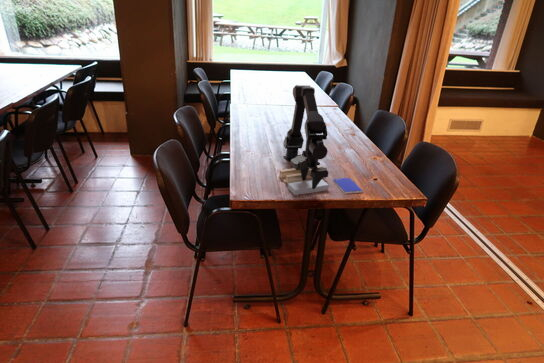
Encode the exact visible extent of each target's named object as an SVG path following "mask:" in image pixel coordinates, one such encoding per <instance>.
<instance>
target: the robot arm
mask: <svg viewBox="0 0 544 363" xmlns="http://www.w3.org/2000/svg"><path fill="white" fill-rule="evenodd" d="M315 92H316V90H315V87H312V86H311V85H308V84H305V85H304V84H299V85H298V84H296V85H294V87H293V88H292V95H293V100H294V102H295V105H294V109H293V110H294V111H293V117H292V123H291V128H290V129H289V130H288V131H287V133H286V136H285V138H284V140H283V147H284V149H285V150H286V151H285V152H286V153H285V155H283V158H284V159H285V160H286V161H287V162H290V163H291V166H292V169H293V168H295V169H296V170H300V172H301V176H302V180H305V179H306V176H307V173H308V170H309V168H311V169H312V170H311V175H310V176H311V177H312V189H315V188H316V186H317V185H318V184H319V182H320V181H321V180H322V179H323V178H324V177H326V178H328V177H329V171H328V170H326V169H325V168H323V166H320V165H321V163H320V162H319V160H322V159H324V158H326V157H327V155H328V148H327V146H326V145H325V144H324V141H325V140H327V138H328V137H327V136H328V135H329V134H328V128H327V125H326V122H325V120H324V116H323V115H322V114H320V113H319V110H318V106H317V100H316V95H315ZM305 113H306V120H305V123H304V132H305V138H306V139H305V140H306V141H305V140H304V137H303V133H302V126H303V120H304V117H305ZM323 140H324V141H323ZM304 141H305V149H304V150H302V152H301V153H302V154H299V149H303V145H304ZM317 166H318V167H317Z"/></svg>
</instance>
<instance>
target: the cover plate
mask: <svg viewBox="0 0 544 363" xmlns="http://www.w3.org/2000/svg"><path fill="white" fill-rule="evenodd" d="M329 187H330V185H329V184H328V183H327V182H326V181H325V180H321V181H320V182H319V184H318V185H317V186H316V188H315V189H312V180H308V181H301V182H294V183H288V185H287V190H289V191H290V193H292V194H293V196H298V195H299V194H300V195H305V193H306V194H310V193H311V194H312V193H318V192H323V191H329Z"/></svg>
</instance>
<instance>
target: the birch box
mask: <svg viewBox="0 0 544 363" xmlns="http://www.w3.org/2000/svg"><path fill="white" fill-rule="evenodd" d="M317 167H319V165H317ZM322 167H323V166H322ZM323 168H325V169H326V170H327V169H328V168H327V166H324V167H323ZM311 170H312V169H311V168H309V170H308V173H307V176H306V179H305V180H302V176H301V172H300V170H296V169H295V168H293V167H292V168H286V169H280V170H279V175H278V178H280V179H281V180H282V181H283V182H284V183H285V184H286V185H287V186H288V183H294V182H301V181H308V180H312V177H311V176H310V175H311ZM327 171H328V170H327ZM326 179H327V177H324V178H323V179H322V180H323V181H325V180H326Z"/></svg>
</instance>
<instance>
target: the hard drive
mask: <svg viewBox="0 0 544 363" xmlns="http://www.w3.org/2000/svg"><path fill="white" fill-rule="evenodd" d="M333 182H334V184H335V185H336V186H337V187H338V188H339V189H340V191H342V192H343V193H344V194H345V195H346V194H357V193H363V192H364V191H363V189H361V187H360V186H358V184H357V183H355V181H354V180H352V179H351V178H350V177H344V178H340V177H339V178H333Z"/></svg>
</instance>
